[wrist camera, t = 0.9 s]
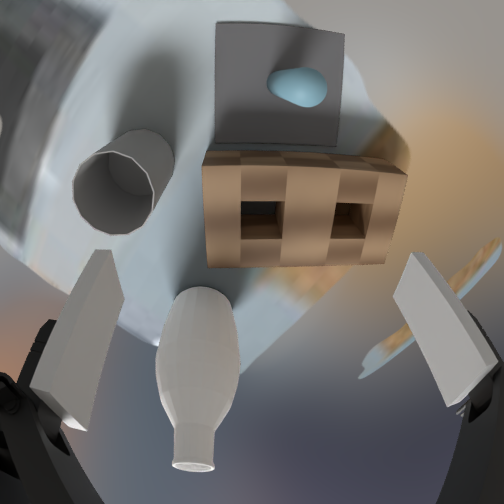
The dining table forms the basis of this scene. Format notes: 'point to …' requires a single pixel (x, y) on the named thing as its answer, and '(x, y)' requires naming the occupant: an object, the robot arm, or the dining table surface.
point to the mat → (255, 84)
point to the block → (299, 208)
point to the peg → (298, 86)
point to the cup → (123, 182)
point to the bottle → (197, 372)
